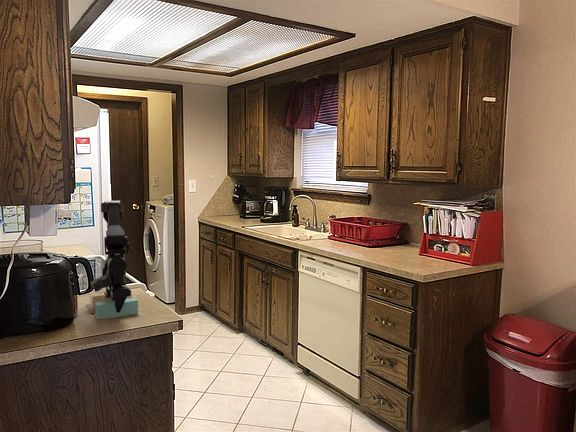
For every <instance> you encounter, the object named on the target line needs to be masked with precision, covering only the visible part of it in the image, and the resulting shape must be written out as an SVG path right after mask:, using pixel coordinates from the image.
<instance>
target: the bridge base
mask: <svg viewBox="0 0 576 432" xmlns="http://www.w3.org/2000/svg"><path fill="white" fill-rule="evenodd" d="M89 294H90V303H86V307H87V309H88V311H89V313H90V314H91V315H94V314H95V315H96V308H95V303H97V302H105V294H104V293H103V292H102V291H101V292H100V291H98V292H91V293H89ZM130 298H132V295H131V296H127V298H126V299H130Z"/></svg>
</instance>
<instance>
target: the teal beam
mask: <svg viewBox="0 0 576 432" xmlns="http://www.w3.org/2000/svg"><path fill="white" fill-rule="evenodd" d="M95 308H96V314H95V317H96V319H97V320H103V319H110V318H116V317H117V318H119V317H125V316H132V315H139V300H138V299H137V298H136V297H131V298H130V299H126V300H125V302H124V304H123V306H122V309H121V311H120V312H118V313H117V311H116V307H115V302H114V300H113V301H112V300H104V302H97V303H95Z"/></svg>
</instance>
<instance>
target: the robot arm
mask: <svg viewBox="0 0 576 432" xmlns="http://www.w3.org/2000/svg"><path fill="white" fill-rule="evenodd" d="M124 207H125V206H124V202H121V200H103V202H101V203H100V213H101V214H102V217H103V219H104V221H105V223H106V226H107V227H106V229H107V230H106V231H105V236H104V237H103V244H104V255H105V256H107V257H106V258H105V260H104V261H103V267H102V268H101V273H102V274H101V276H99V277H98V278H95V279H93V281H92V280H91V281H92V282H91V281H90V284H91V286H92V288H93V291H94V293H98V292H100V290H103V289H105V292H104V293H103V295H104V297H106V298H110V299H111V301H113V300H114V302H115V307H116V311H117V313H118V312H120V311H121V309H122V306H123V304H124V302H125V300H126V298H127V296H131V297H132V291H131V289H130V288H129V287H128V286H127V282H126V274H127V271H126V269H127V262H126V260H125V255H127V254H129V251H130V241H129V239H128V236H126V233H125V229H123V228H122V227H121V219H122V216H123V215H122V213H124V212H125V210H124V209H125V208H124Z"/></svg>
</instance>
